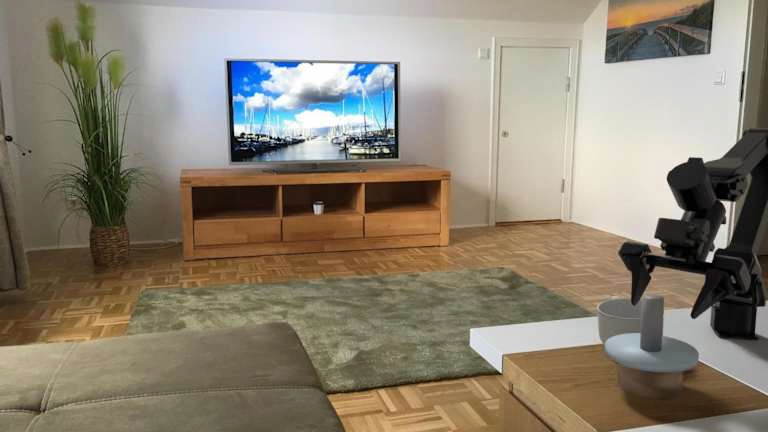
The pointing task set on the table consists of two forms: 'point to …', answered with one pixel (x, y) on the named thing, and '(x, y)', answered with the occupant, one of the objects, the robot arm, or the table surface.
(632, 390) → the stone
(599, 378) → the table surface
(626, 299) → the teacup
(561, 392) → the table surface
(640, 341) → the lid
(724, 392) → the table surface
